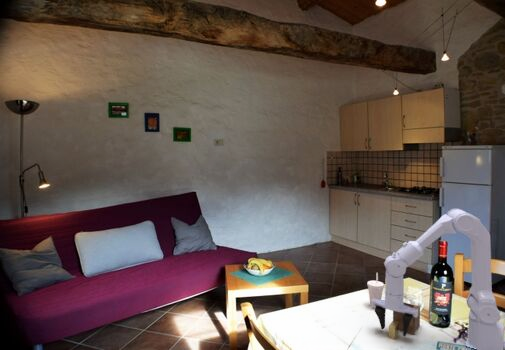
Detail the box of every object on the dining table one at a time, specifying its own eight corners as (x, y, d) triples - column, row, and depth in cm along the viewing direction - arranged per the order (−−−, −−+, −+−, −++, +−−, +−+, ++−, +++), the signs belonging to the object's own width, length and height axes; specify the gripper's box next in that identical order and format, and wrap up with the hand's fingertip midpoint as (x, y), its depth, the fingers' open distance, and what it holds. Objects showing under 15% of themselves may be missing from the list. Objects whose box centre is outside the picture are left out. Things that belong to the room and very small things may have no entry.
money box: (419, 325, 120) (420, 306, 120) (414, 334, 114) (414, 314, 113) (399, 319, 124) (399, 301, 124) (392, 328, 118) (393, 309, 118)
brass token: (392, 331, 116) (392, 320, 116) (398, 333, 115) (398, 322, 115) (388, 337, 112) (388, 326, 112) (394, 339, 111) (394, 328, 111)
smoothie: (385, 311, 131) (385, 276, 131) (368, 309, 133) (368, 275, 132) (382, 303, 138) (382, 270, 137) (365, 302, 139) (366, 269, 138)
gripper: (420, 293, 111) (419, 333, 112) (376, 283, 120) (375, 320, 121) (415, 300, 106) (414, 342, 107) (369, 290, 115) (369, 328, 116)
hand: (393, 331), depth 114 cm, fingers open, 6 cm apart
